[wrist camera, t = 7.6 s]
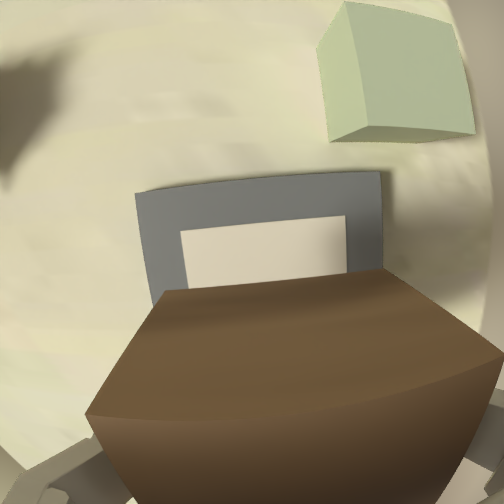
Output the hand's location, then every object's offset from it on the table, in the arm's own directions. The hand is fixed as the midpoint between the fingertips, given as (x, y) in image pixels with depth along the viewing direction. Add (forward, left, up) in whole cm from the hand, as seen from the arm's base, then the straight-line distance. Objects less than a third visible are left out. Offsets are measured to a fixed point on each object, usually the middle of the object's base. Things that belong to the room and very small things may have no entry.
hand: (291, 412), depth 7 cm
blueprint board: (0, 0, -9) cm, 9 cm away
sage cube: (-10, +6, -9) cm, 14 cm away
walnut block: (0, 0, -2) cm, 2 cm away
